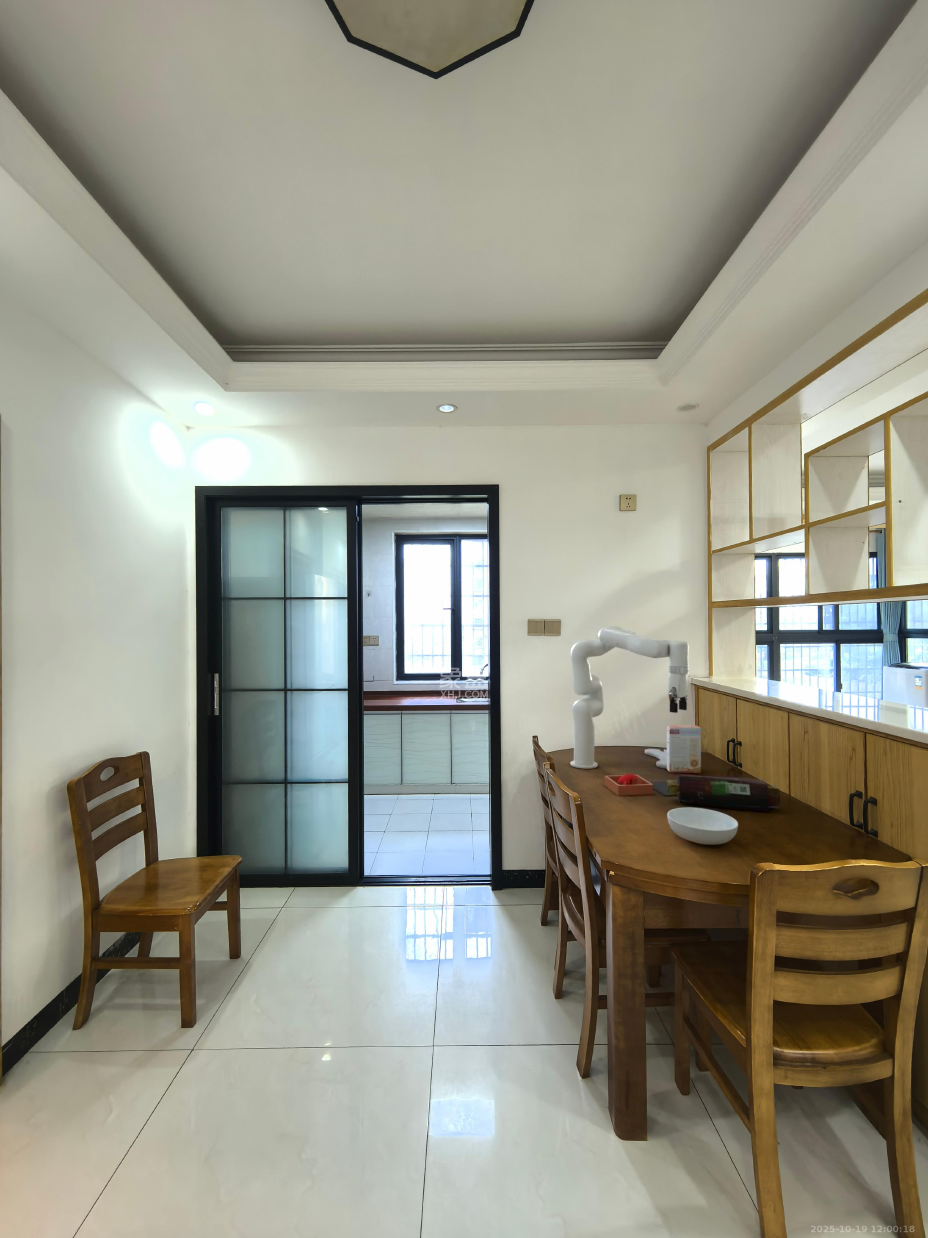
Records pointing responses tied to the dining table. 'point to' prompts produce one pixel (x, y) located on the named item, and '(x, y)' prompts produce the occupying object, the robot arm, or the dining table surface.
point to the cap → (626, 779)
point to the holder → (658, 756)
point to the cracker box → (683, 749)
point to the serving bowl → (702, 825)
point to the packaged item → (725, 792)
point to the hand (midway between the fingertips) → (678, 711)
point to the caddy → (629, 786)
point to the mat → (661, 788)
